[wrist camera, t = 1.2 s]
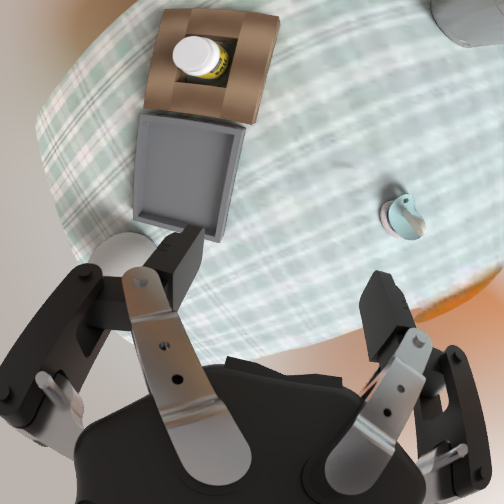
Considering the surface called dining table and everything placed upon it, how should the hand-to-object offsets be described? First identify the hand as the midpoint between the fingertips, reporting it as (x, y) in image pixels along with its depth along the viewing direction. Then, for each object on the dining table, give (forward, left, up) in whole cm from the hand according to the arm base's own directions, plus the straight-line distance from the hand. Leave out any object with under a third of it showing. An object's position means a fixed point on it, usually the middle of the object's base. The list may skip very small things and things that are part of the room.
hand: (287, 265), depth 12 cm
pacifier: (+3, +17, -25) cm, 31 cm away
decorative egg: (+22, -21, -25) cm, 39 cm away
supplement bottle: (-10, -13, -25) cm, 30 cm away
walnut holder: (-10, -13, -25) cm, 29 cm away
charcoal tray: (+6, -14, -25) cm, 29 cm away
